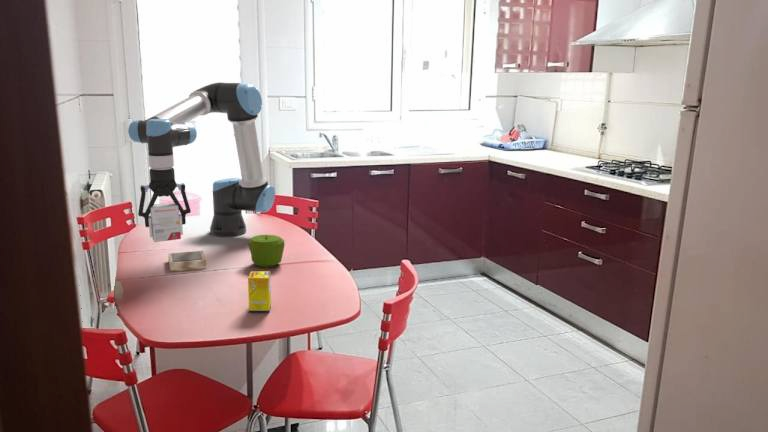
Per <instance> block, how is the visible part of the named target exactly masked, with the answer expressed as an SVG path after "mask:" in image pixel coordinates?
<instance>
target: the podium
mask: <svg viewBox="0 0 768 432" xmlns="http://www.w3.org/2000/svg"><path fill="white" fill-rule="evenodd" d="M167 255H168V256H167V257H168V258H167V259H168V264H169V265H168V267H169V271H170V272H180V271H181V272H182V271H192V270H201V269H207V259H206V257H205V254H204V251H203V250H194V251H182V252H171V253H170V252H169V253H168V254H167Z"/></svg>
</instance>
